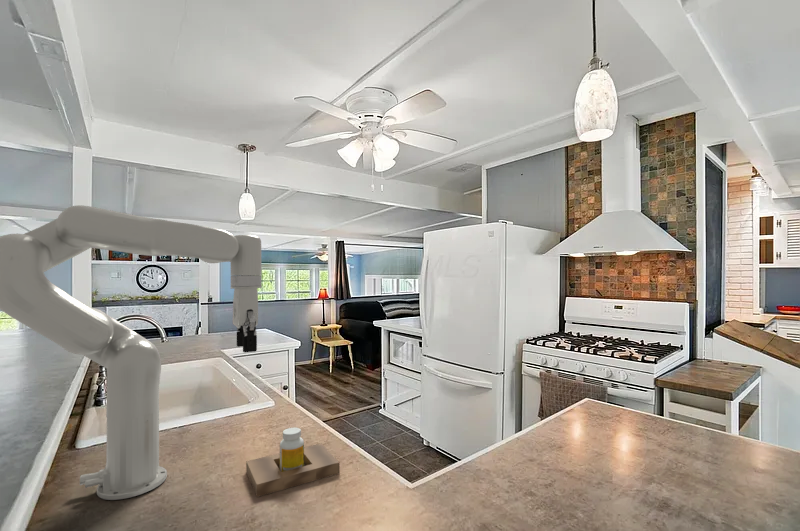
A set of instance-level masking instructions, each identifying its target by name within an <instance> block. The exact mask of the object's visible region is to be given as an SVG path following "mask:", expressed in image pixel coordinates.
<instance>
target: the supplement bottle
mask: <svg viewBox="0 0 800 531" xmlns="http://www.w3.org/2000/svg"><path fill="white" fill-rule="evenodd" d="M301 435H302V429H301V428H299V427H288V428H285V429H284V430H283V431H282V440H281V441H280V443H279V453H280V469H279V470H280V471H281V472H284V471H288V470H292V469H295V468H299V467H303V466H305V465H304V447H305V441H304V439H303V438H302V437H301Z"/></svg>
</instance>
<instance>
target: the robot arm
mask: <svg viewBox="0 0 800 531" xmlns="http://www.w3.org/2000/svg"><path fill="white" fill-rule="evenodd" d="M91 248H93V249H98V250H105V251H111V252H112V251H113V252H118V253H119V252H121V253H127V254H133V255H141V256H149V257H151V256H152V257H164V256H174V257H187V258H193V259H194V258H195V259H199V260H200V261H202V262H204V263H206V264H219V263H229V262H230V289H231V290H233V298H232V304H233V305H232V325H234V326H235V327H236V347H242V352H243V353H245V354H246V353H255V352H257V351H258V344H257V343H258V334H257V326H258V324H259V298H258V297H259V294H258V289H262V240H261V238H260V237H259V236H257V235H254V234H252V235H251V234H237V235H234V234H232V233H231V232H228V231H226V230H224V229H220V228H219V229H218V228H214V227H210V226H203V225H198V224H193V223H186V222H179V221H171V220H167V219H161V218H153V217H152V218H151V217H148V216H147V217H146V216H141V215H136V214H129V213H125V212H121V211H115V210H111V209H110V210H109V209H107V208H105V209H104V208H99V207H94V206H90V205H89V206H88V205H72V206H68V207H67V208H65V209H64V210H62V212H61V213H60V214H59V215H58V217H57V218H56V219H54V220H52V221H50V222H47V223H45V224H43V225H40V226H38V227H37V228H35V229H32V230H29V231H28V232H25V233H8V234H3V235H2V236H0V311H1V312H3V313H4V314H6V315H8V316H9V317H11V318H12V319H14V320H16V321H18V322H19V323H21V324H23V325H24V326H26V327H27V328H30V329H31V330H32V331H34V332H35V333H37V334H39V335H41V336H42V337H44V338H47V339H48V340H50V341H52V342H53V343H55V344H56V345H57V346H60V347H61V348H62V349H64V351H67V352H69V353H71V354H74V355H81V356H84V357H86V358H87V359H89V360H90V361H92V362H94V363H97V364H99V365H100V366H101V367H104V368H105V369H106V374H107V375H106V377H107V379H106V407H105V409H106V414H105V415H106V454H105V455H106V464H105V465H104V466H105V467H104V468H103V469H99V471H96V472H91V473H84V474H81V475H80V477H79V486H82V485H84V488H85V489H86V488H91V487H94V486H97V487H96V495H97V497H98V498H100V499H102V500H108V501H109V500H110V501H116V500H123V499H124V500H125V499H129V498H134V497H136V496H140V495H143V494H146V493H147V492H149V491H152V490H155V489H156V488H158V487H159V486H161V484H163V483H164V482H165V481H166V479H167V476H168V471H167V469H166V468H165V467H163V466H160V384H161V372H162V359H161V354H160V351H159V349H158V348H157V346H156V345H155V343H154V342H151V341H150V340H149V339H146V337H144V336H142V335H140V334H139V333H137V332H136V331H134V330H132V328H131V329H130V328H129V327H127V326H126V325H125V324H123V323H121V322H120V321H119V320H116V319H115V318H113V317H112V316H110V315H109V314H108V313H105V312H104V311H102V310H100V309H98V308H96V307H91V306H88V305H87V304H85V303H83V302H82V301H81V300H78V299H77V298H75V297H73V296H72V295H70V294H69V293H68V292H66V291H65V290H63V289H61V287H58V286H57V285H55V284H54V283H53V282H51V281H50V280H49V279H48V278H47V276H46V274H45V272H47V271H49V270H51V269H52V268H56V266H59V265H60V264H63V263H65V262H67V261H69V260H71V259H72V258H75V257H76V256H78V255H80V254H82V253H84V252H86V251H87V250H89V249H91Z"/></svg>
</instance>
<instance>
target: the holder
mask: <svg viewBox="0 0 800 531" xmlns="http://www.w3.org/2000/svg"><path fill="white" fill-rule="evenodd" d="M245 462H246V466H245V467H246V468H245V471H246V472H245V473H246V475H247V477H248V480H249V482H250V484H251V487H252V489H253V491H254V493H255V496H256V498H258V497H261V496H265V495H268V494H269V495H270V494H273V493H276V492H279V491H283V490H286V489H287V490H288V489H290V488H293V487H297V486H300V485H304V484H308V483H311V482H315V481H318V480H322V479H325V478H328V477H331V476H335V475H340V473H341V472H340V465H341V464H340V461H338V459H337V458H336V457H335V456H334V455H333V454H332V452H331V451H330V450H328V448H326V447H325V445H324V444H323V443H322V442H321V443H318V444H313V445H309V446H304V466H303V467H299V468H295V469H292V470H288V471H284V472H281V471H280V452H279V453H274V454H272V455H267V456H264V457H263V456H262V457H258V458H255V459H249V460H247V461H245Z"/></svg>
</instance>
